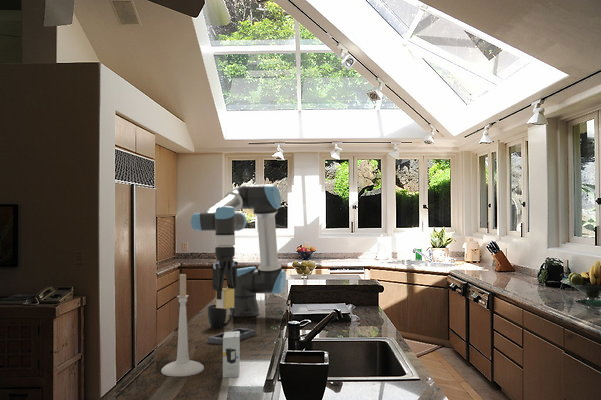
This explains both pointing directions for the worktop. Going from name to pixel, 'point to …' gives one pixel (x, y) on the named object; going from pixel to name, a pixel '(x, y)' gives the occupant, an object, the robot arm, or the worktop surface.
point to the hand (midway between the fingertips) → (225, 306)
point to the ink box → (231, 354)
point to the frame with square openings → (243, 332)
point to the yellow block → (227, 298)
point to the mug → (218, 316)
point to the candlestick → (182, 342)
